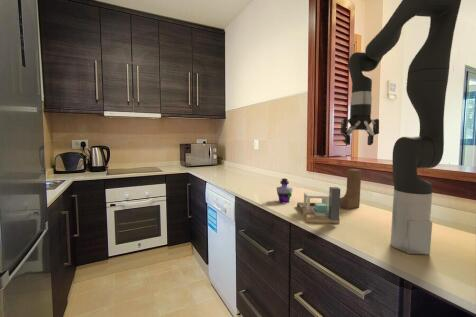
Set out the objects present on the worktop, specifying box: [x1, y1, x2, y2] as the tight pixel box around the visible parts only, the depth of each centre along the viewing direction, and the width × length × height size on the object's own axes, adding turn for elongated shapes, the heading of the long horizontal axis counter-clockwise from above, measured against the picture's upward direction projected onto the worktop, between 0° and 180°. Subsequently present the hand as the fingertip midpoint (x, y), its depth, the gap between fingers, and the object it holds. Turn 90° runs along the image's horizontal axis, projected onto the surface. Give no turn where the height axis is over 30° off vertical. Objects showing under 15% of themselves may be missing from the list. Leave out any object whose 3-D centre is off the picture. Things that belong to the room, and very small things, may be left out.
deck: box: [296, 201, 341, 224], centre depth 106 cm, size 22×12×2 cm, turn 177°
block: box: [314, 202, 328, 212], centre depth 100 cm, size 4×4×4 cm
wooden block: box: [340, 168, 362, 210], centre depth 117 cm, size 9×4×18 cm, turn 118°
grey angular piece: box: [311, 186, 341, 221], centre depth 96 cm, size 11×8×12 cm
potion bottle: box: [276, 178, 293, 204], centre depth 127 cm, size 9×9×12 cm
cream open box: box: [303, 191, 329, 211], centre depth 107 cm, size 7×9×6 cm
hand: (358, 144), depth 100 cm, fingers open, 8 cm apart
